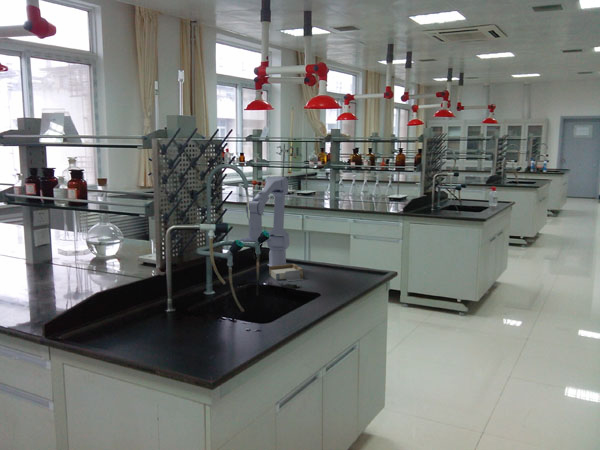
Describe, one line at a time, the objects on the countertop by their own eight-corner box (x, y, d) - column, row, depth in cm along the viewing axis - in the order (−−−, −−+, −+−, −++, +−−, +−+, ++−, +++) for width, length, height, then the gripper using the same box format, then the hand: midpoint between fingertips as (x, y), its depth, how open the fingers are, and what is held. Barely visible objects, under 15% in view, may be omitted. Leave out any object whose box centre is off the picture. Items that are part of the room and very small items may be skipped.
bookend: (285, 279, 231) (285, 271, 231) (299, 277, 234) (299, 269, 233) (288, 281, 228) (288, 273, 227) (303, 279, 230) (303, 272, 230)
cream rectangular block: (270, 276, 237) (270, 270, 237) (293, 274, 241) (293, 267, 241) (276, 280, 231) (275, 273, 230) (299, 277, 235) (299, 271, 234)
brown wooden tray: (269, 274, 239) (269, 266, 239) (294, 272, 244) (294, 263, 243) (277, 280, 229) (277, 271, 229) (302, 277, 234) (302, 268, 233)
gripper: (241, 230, 221) (242, 262, 224) (273, 228, 227) (274, 259, 229) (237, 228, 228) (238, 258, 230) (268, 226, 233) (269, 255, 235)
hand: (255, 258), depth 230 cm, fingers closed
